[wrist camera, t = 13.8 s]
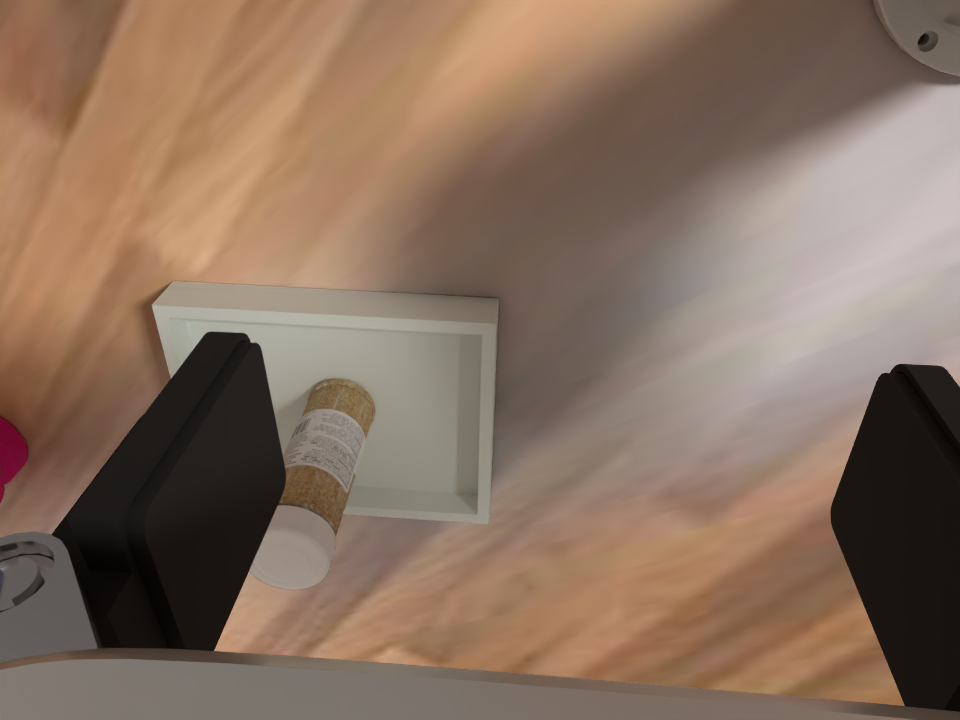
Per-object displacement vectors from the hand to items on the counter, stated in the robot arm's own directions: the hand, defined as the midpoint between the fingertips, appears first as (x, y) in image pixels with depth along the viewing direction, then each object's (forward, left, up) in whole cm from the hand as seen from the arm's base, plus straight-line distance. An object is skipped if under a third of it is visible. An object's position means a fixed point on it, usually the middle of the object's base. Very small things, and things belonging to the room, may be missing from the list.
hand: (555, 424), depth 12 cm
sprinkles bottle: (+12, +22, -29) cm, 38 cm away
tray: (+12, +22, -30) cm, 39 cm away
